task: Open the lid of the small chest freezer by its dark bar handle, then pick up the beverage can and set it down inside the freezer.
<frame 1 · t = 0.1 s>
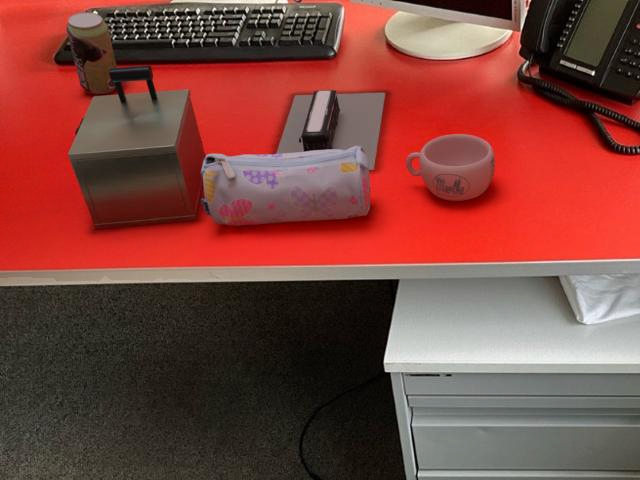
tape measure: (111, 144, 132), on the table
freezer: (154, 194, 121), on the table
beverage can: (105, 91, 146), on the table
freezer lid: (127, 106, 113), point 12 cm above the table, hinge at 0.0°
pencil case: (295, 217, 116), on the table
flat grey base plate: (332, 131, 134), on the table
mug: (451, 190, 121), on the table
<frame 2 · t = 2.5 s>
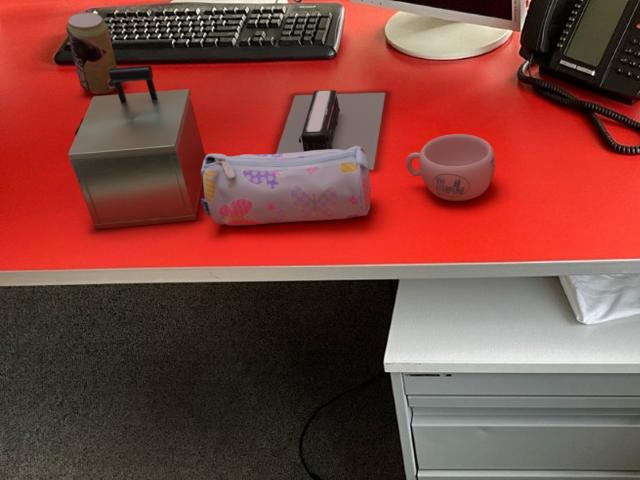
nothing on the table moved.
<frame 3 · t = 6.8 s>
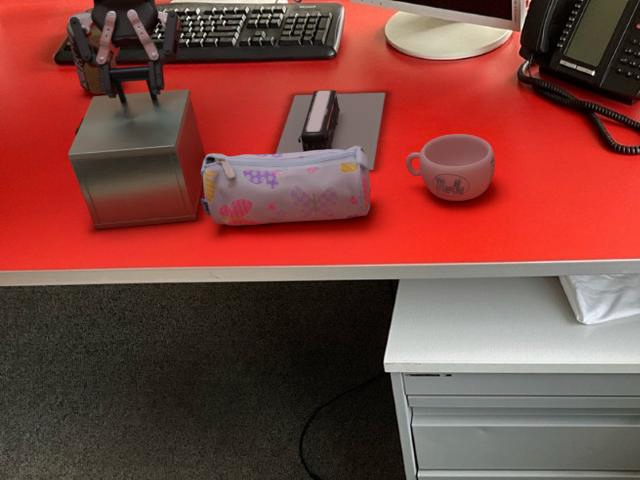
hand: (133, 93, 116), 12 cm above the table, tool tilted 45°, fingers closed on freezer lid, 5 cm apart
freezer lid: (127, 106, 113), point 12 cm above the table, hinge at 0.0°, touching gripper
everything else where it was.
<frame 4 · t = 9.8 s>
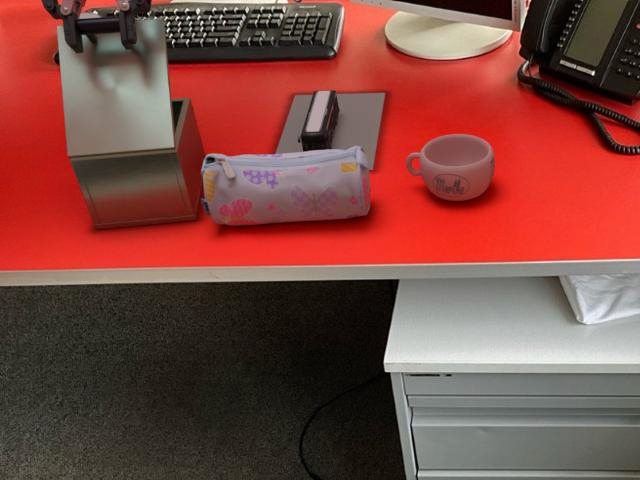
hand: (102, 48, 105), 21 cm above the table, tool tilted 45°, fingers closed on freezer lid, 5 cm apart
freezer lid: (110, 80, 107), point 17 cm above the table, hinge at 43.4°, touching gripper
everything else where it was.
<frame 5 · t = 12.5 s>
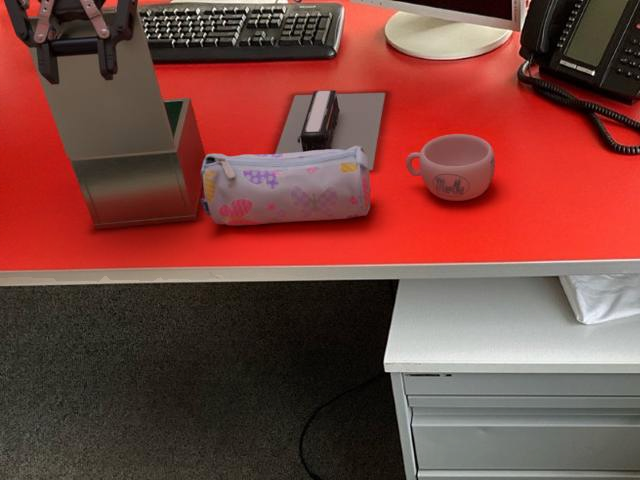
hand: (80, 79, 96), 22 cm above the table, tool tilted 45°, fingers closed on freezer lid, 5 cm apart
freezer lid: (97, 94, 101), point 19 cm above the table, hinge at 87.6°, touching gripper
everything else where it was.
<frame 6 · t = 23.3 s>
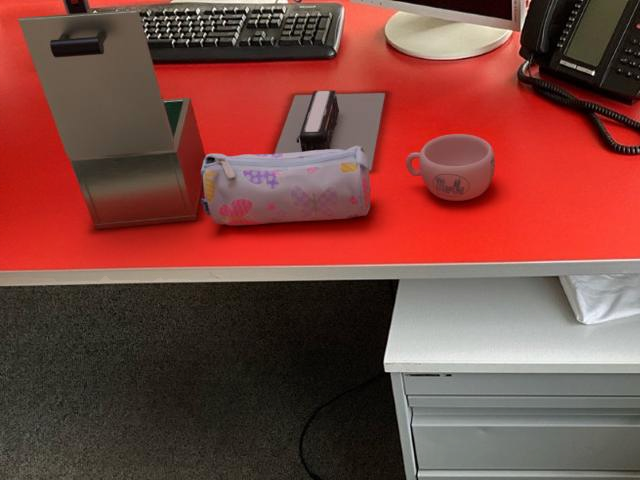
hand: (90, 44, 141), 8 cm above the table, tool pointing down, fingers closed on beverage can, 6 cm apart
beverage can: (105, 91, 146), on the table, touching gripper
freezer lid: (97, 94, 101), point 19 cm above the table, hinge at 87.9°
everything else where it was.
when the fingers open (8 cm above the table, at t = 32.5 s): beverage can stays where it is, resting on freezer.
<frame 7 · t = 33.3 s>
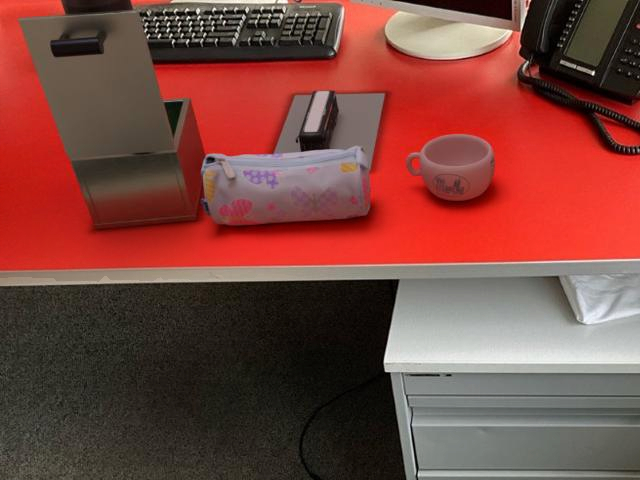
hand: (133, 122, 115), 10 cm above the table, tool pointing down, fingers open, 8 cm apart
beverage can: (153, 184, 122), point 1 cm above the table, touching freezer
everything else where it was.
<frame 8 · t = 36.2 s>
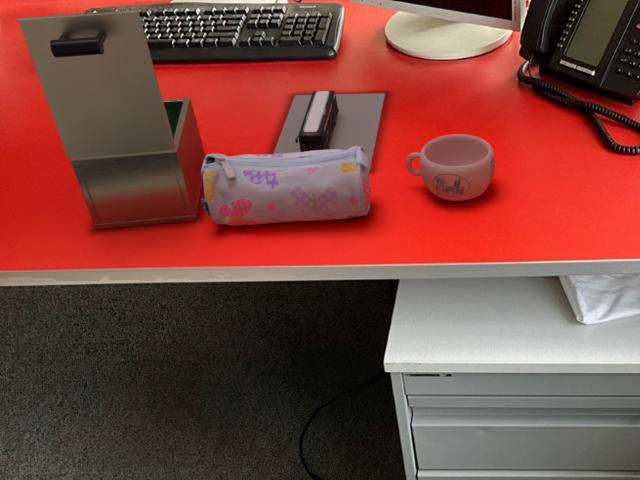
nothing on the table moved.
at the end: freezer lid at +88° (first picture: +0°); beverage can inside the target area in the freezer (1.5 cm from its centre), point 0.6 cm above the freezer's base; beverage can tilted 0° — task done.
